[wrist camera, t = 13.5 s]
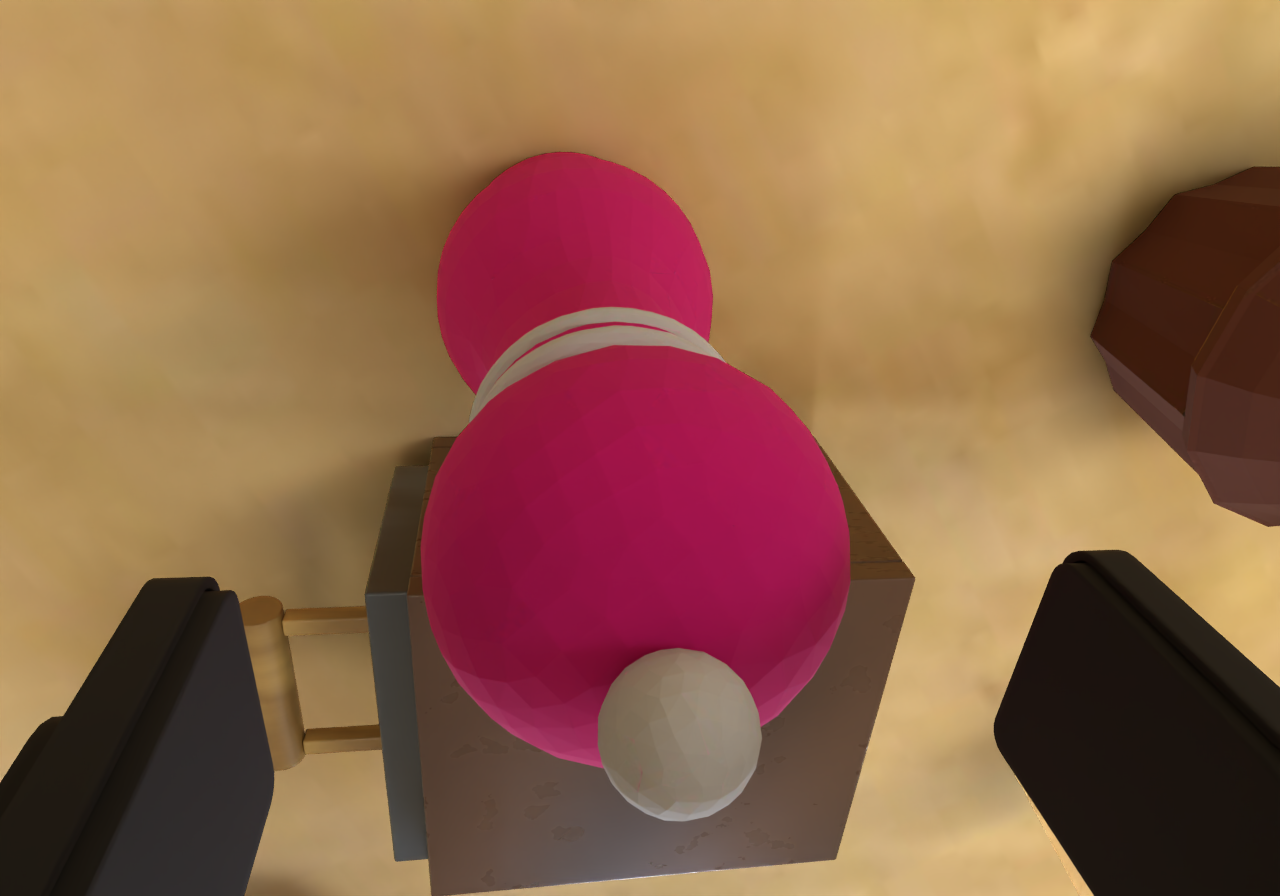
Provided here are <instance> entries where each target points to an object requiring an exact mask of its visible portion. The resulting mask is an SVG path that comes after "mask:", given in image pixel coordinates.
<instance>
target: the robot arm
mask: <svg viewBox="0 0 1280 896" xmlns="http://www.w3.org/2000/svg"><path fill="white" fill-rule="evenodd" d="M994 736H995V740H996V743H997V746H998V748H999V750H1000V752H1001V754H1002V755H1003V757H1004V758H1005V760H1006V762H1007V763H1008V765H1009V766H1010V768H1011V769H1012V771H1013V772H1014V774H1015V775H1016V777H1017V778H1018V780H1019V782H1020V783H1021V785H1022V786H1023V788H1024V789H1025V791H1026V792H1027V794H1028V795H1029V797H1030V798H1031V800H1032V802H1033V803H1034V805H1035V806H1036V808H1037V809H1038V811H1039V812H1040V814H1041V815H1042V817H1043V818H1044V820H1045V821H1046V823H1047V825H1048V826H1049V828H1050V829H1051V831H1052V832H1053V834H1054V835H1055V837H1056V838H1057V840H1058V841H1059V843H1060V845H1061V846H1062V848H1063V849H1064V851H1065V852H1066V854H1067V855H1068V857H1069V858H1070V860H1071V861H1072V863H1073V865H1074V866H1075V868H1076V869H1077V871H1078V872H1079V874H1080V875H1081V877H1082V878H1083V880H1084V881H1085V883H1086V885H1087V886H1088V888H1089V889H1090V891H1091V892H1092V894H1093V895H1094V896H1280V687H1279V686H1278V685H1276V684H1275V683H1274V682H1273V681H1272V680H1271V679H1270V678H1269V677H1268V676H1266V675H1265V674H1264V673H1263V672H1262V671H1261V670H1260V669H1259V668H1257V667H1256V666H1255V665H1254V664H1253V663H1252V662H1251V661H1250V660H1249V659H1247V658H1246V657H1245V656H1244V655H1243V654H1242V653H1241V652H1240V651H1239V650H1237V649H1236V648H1235V647H1234V646H1233V645H1232V644H1231V643H1230V642H1229V641H1227V640H1226V639H1225V638H1224V637H1223V636H1222V635H1221V634H1220V633H1218V632H1217V631H1216V630H1215V629H1214V628H1213V627H1212V626H1211V625H1210V624H1208V623H1207V622H1206V621H1205V620H1204V619H1203V618H1202V617H1201V616H1200V615H1198V614H1197V613H1196V612H1195V611H1194V610H1193V609H1192V608H1191V607H1190V606H1188V605H1187V604H1186V603H1185V602H1184V601H1183V600H1182V599H1181V598H1180V597H1178V596H1177V595H1176V594H1175V593H1174V592H1173V591H1172V590H1171V589H1169V588H1168V587H1167V586H1166V585H1165V584H1164V583H1163V582H1162V581H1161V580H1159V579H1158V578H1157V577H1156V576H1155V575H1154V574H1153V573H1152V572H1151V571H1149V570H1148V569H1147V568H1146V567H1145V566H1144V565H1143V564H1142V563H1141V562H1139V561H1138V560H1137V559H1136V558H1135V557H1134V556H1132V555H1131V554H1129V553H1128V552H1126V551H1121V550H1097V551H1077V552H1073V553H1071V554H1070V555H1068V556H1067V557H1066V558H1065V560H1064V562H1063V563H1062V564H1060V565H1058V566H1057V567H1056V568H1055V569H1054V571H1053V572H1052V574H1051V577H1050V579H1049V582H1048V584H1047V587H1046V590H1045V592H1044V595H1043V597H1042V600H1041V602H1040V605H1039V608H1038V610H1037V613H1036V615H1035V618H1034V620H1033V623H1032V625H1031V628H1030V631H1029V633H1028V636H1027V638H1026V641H1025V643H1024V646H1023V649H1022V651H1021V654H1020V656H1019V659H1018V661H1017V664H1016V667H1015V669H1014V672H1013V674H1012V677H1011V679H1010V682H1009V684H1008V687H1007V690H1006V692H1005V695H1004V697H1003V700H1002V702H1001V705H1000V708H999V710H998V713H997V715H996V718H995V722H994ZM273 789H274V768H273V762H272V757H271V752H270V748H269V743H268V738H267V733H266V729H265V724H264V719H263V714H262V710H261V705H260V700H259V695H258V691H257V686H256V681H255V676H254V672H253V667H252V662H251V657H250V653H249V648H248V643H247V638H246V634H245V629H244V624H243V619H242V615H241V610H240V605H239V601H238V598H237V595H236V593H235V592H234V591H232V590H226V591H220V589H219V586H218V583H217V582H216V581H215V579H214V578H211V577H187V578H153V579H151V580H149V581H147V582H146V584H145V585H144V586H143V587H142V589H141V590H140V592H139V594H138V595H137V597H136V598H135V600H134V602H133V603H132V605H131V607H130V608H129V610H128V611H127V613H126V615H125V616H124V618H123V620H122V621H121V623H120V625H119V626H118V628H117V629H116V631H115V633H114V634H113V636H112V638H111V639H110V641H109V642H108V644H107V646H106V647H105V649H104V651H103V652H102V654H101V656H100V657H99V659H98V660H97V662H96V664H95V665H94V667H93V669H92V670H91V672H90V673H89V675H88V677H87V678H86V680H85V682H84V683H83V685H82V686H81V688H80V690H79V691H78V693H77V695H76V696H75V698H74V700H73V701H72V703H71V704H70V706H69V708H68V709H67V711H66V713H65V714H64V716H59V717H51V718H50V719H48V720H47V721H45V722H44V723H42V724H40V725H39V727H38V728H37V729H36V730H35V732H34V733H33V734H32V735H31V737H30V738H29V739H28V741H27V742H26V744H25V745H24V747H23V748H22V750H21V751H20V753H19V755H18V756H17V758H16V759H15V761H14V762H13V764H12V765H11V767H10V769H9V770H8V772H7V773H6V775H5V776H4V778H3V779H2V781H1V783H0V896H244V894H245V891H246V888H247V884H248V881H249V877H250V874H251V870H252V867H253V864H254V860H255V857H256V853H257V850H258V846H259V843H260V839H261V836H262V833H263V829H264V826H265V822H266V819H267V815H268V812H269V809H270V805H271V801H272V796H273Z"/></svg>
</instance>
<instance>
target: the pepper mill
mask: <svg viewBox="0 0 1280 896" xmlns="http://www.w3.org/2000/svg"><path fill="white" fill-rule="evenodd" d="M712 303H713V293H712V285H711V277H710V270H709V267H708V265H707V262H706V259H705V256H704V254H703V251H702V248H701V245H700V243H699V241H698V238H697V236H696V234H695V232H694V230H693V228H692V226H691V223H690V222H689V221H688V219H687V218H686V216H685V215H684V213H683V212H682V210H681V209H680V207H679V206H678V205H677V204H676V203H675V202H674V201H673V200H672V199H671V198H670V197H669V196H668V195H667V194H666V192H665V191H664V190H662V189H661V188H660V187H658V186H657V185H656V184H654V183H653V182H652V181H650V180H649V179H647V178H646V177H644V176H642V175H640V174H638V173H636V172H635V171H633V170H631V169H629V168H627V167H624V166H621V165H619V164H616V163H613V162H610V161H606V160H601V159H599V158H596V157H593V156H589V155H586V154H580V153H573V152H555V153H546V154H542V155H538V156H534V157H531V158H528V159H526V160H524V161H522V162H520V163H518V164H516V165H514V166H512V167H510V168H509V169H507V170H506V171H504V172H503V173H502V174H500V175H499V176H498V177H496V178H495V179H494V180H493V181H492V182H491V183H490V184H489V186H487V187H486V188H485V189H484V190H483V191H481V192H480V193H479V194H478V195H477V196H476V197H475V198H474V199H473V200H472V201H471V202H470V204H469V205H468V206H467V207H466V208H465V209H464V210H463V211H462V213H461V215H460V216H459V218H458V219H457V221H456V223H455V224H454V226H453V228H452V229H451V231H450V233H449V236H448V238H447V241H446V243H445V246H444V248H443V251H442V255H441V259H440V264H439V269H438V278H437V312H438V320H439V325H440V330H441V335H442V338H443V341H444V344H445V346H446V349H447V351H448V354H449V357H450V358H451V360H452V362H453V363H454V365H455V367H456V368H457V370H458V372H459V373H460V375H461V377H462V378H463V380H464V381H465V382H466V383H467V385H468V386H469V387H470V388H471V390H472V391H473V392H474V393H475V394H476V396H475V399H474V402H473V405H472V409H471V413H470V417H469V424H468V425H467V427H466V428H465V429H464V430H463V431H462V432H461V433H460V434H459V436H458V437H457V438H456V440H455V442H454V443H453V445H452V447H451V449H450V451H449V453H448V455H447V456H446V458H445V460H444V462H443V464H442V466H441V467H440V469H439V471H438V473H437V475H436V477H435V480H434V483H433V487H432V491H431V494H430V498H429V501H428V505H427V509H426V512H425V516H424V522H423V531H422V539H421V567H422V588H423V594H424V599H425V604H426V609H427V614H428V618H429V622H430V626H431V630H432V632H433V634H434V637H435V639H436V642H437V644H438V646H439V649H440V651H441V654H442V655H443V657H444V659H445V661H446V662H447V664H448V666H449V668H450V669H451V671H452V673H453V675H454V676H455V678H456V680H457V682H458V683H459V684H460V686H461V687H462V688H463V689H464V690H465V691H466V692H467V693H468V694H469V695H470V696H471V698H472V699H473V700H474V701H475V702H476V703H477V704H478V705H479V706H480V707H481V708H482V709H483V710H484V711H485V712H486V713H487V714H488V716H489V717H490V718H491V719H493V720H494V721H495V722H497V723H498V724H499V725H501V726H502V727H503V728H504V729H506V730H507V731H508V732H510V733H511V734H512V735H514V736H516V737H518V738H520V739H522V740H524V741H525V742H527V743H529V744H531V745H533V746H535V747H537V748H539V749H541V750H543V751H545V752H547V753H549V754H551V755H553V756H555V757H557V758H560V759H565V760H569V761H573V762H578V763H582V764H587V765H591V766H595V767H600V768H604V769H605V771H606V773H607V775H608V777H609V779H610V781H611V783H612V784H613V786H614V787H615V788H616V789H617V790H618V791H619V792H620V794H621V795H622V796H623V797H624V798H625V799H626V800H627V802H629V803H630V804H632V805H633V806H635V807H636V808H638V809H639V810H641V811H642V812H644V813H646V814H648V815H651V816H654V817H656V818H659V819H662V820H665V821H689V820H694V819H698V818H703V817H708V816H710V815H712V814H714V813H716V812H717V811H719V810H721V809H722V808H724V807H726V806H728V805H729V804H730V803H731V802H732V801H733V800H734V799H736V798H737V797H738V796H739V795H740V794H741V793H742V791H743V790H744V788H745V786H746V785H747V783H748V781H749V780H750V778H751V776H752V774H753V773H754V771H755V769H756V765H757V761H758V757H759V752H760V747H761V741H762V735H761V727H762V726H763V725H765V724H766V723H768V722H769V721H771V720H772V719H774V718H775V717H777V716H778V715H779V714H780V713H781V712H782V711H783V709H784V708H785V707H786V706H787V705H788V704H789V703H790V702H791V701H792V700H793V698H794V697H795V696H796V695H797V694H798V693H799V692H800V691H801V690H802V689H803V687H804V686H805V685H806V684H807V683H808V682H809V681H810V680H811V679H812V678H813V676H814V675H815V673H816V671H817V670H818V668H819V666H820V664H821V663H822V661H823V659H824V658H825V656H826V654H827V653H828V651H829V649H830V647H831V645H832V642H833V640H834V637H835V635H836V632H837V630H838V627H839V625H840V622H841V619H842V617H843V614H844V612H845V608H846V602H847V597H848V592H849V587H850V536H849V528H848V523H847V518H846V514H845V509H844V504H843V500H842V497H841V494H840V491H839V488H838V485H837V483H836V481H835V478H834V476H833V474H832V472H831V469H830V467H829V465H828V463H827V461H826V459H825V457H824V455H823V454H822V452H821V450H820V448H819V446H818V445H817V443H816V441H815V439H814V438H813V436H812V434H811V432H810V431H809V430H808V428H807V427H806V426H805V425H804V424H803V422H802V421H801V420H800V419H799V418H798V417H797V415H796V414H795V413H794V412H793V411H792V409H791V408H790V407H789V406H788V405H787V404H786V403H785V402H784V401H783V400H782V399H781V398H780V397H779V396H777V395H776V394H775V393H774V392H773V391H772V390H771V389H770V388H769V387H768V386H766V385H764V384H762V383H760V382H759V381H757V380H755V379H753V378H752V377H750V376H748V375H746V374H745V373H743V372H741V371H739V370H737V369H736V368H734V367H732V366H730V365H729V364H727V363H726V362H725V360H724V359H723V358H722V357H721V356H720V354H719V353H718V352H717V351H716V350H715V349H714V348H713V347H712V346H711V345H710V344H709V343H708V341H709V335H710V328H711V318H712Z"/></svg>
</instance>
